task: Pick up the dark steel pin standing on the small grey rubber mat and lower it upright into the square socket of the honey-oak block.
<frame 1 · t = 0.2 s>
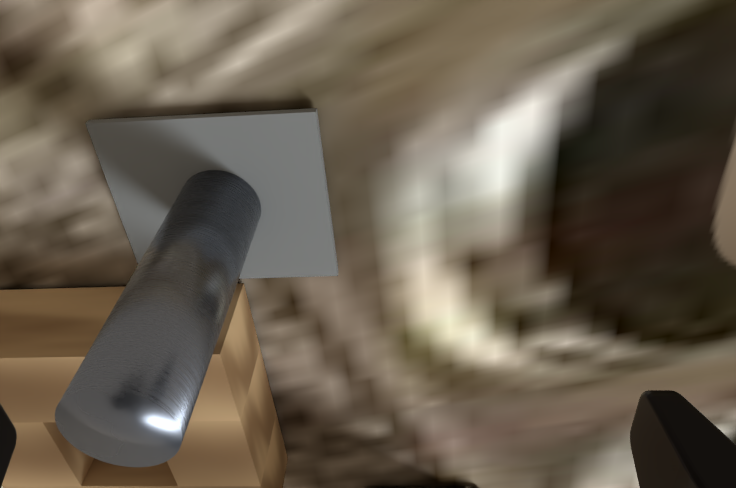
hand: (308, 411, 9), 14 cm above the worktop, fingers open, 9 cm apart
mat: (222, 201, 23), on the worktop
socket block: (145, 383, 29), on the worktop
pin: (221, 205, 23), resting on mat
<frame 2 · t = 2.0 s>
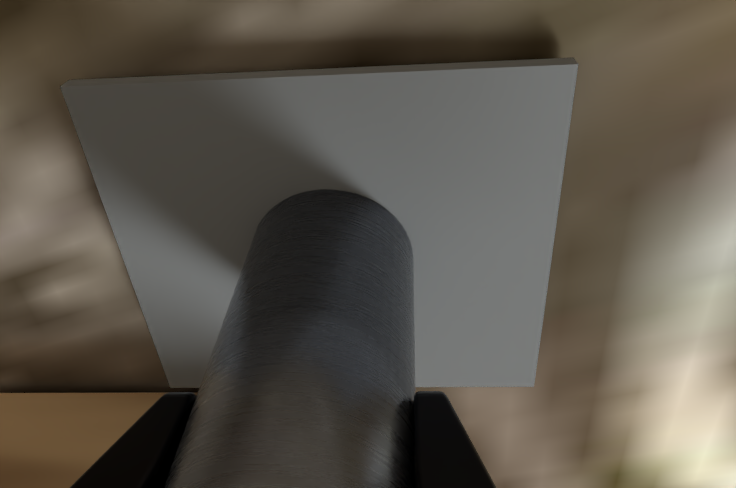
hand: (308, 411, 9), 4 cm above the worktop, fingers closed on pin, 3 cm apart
mat: (334, 249, 12), on the worktop
pin: (332, 259, 11), resting on mat, touching gripper
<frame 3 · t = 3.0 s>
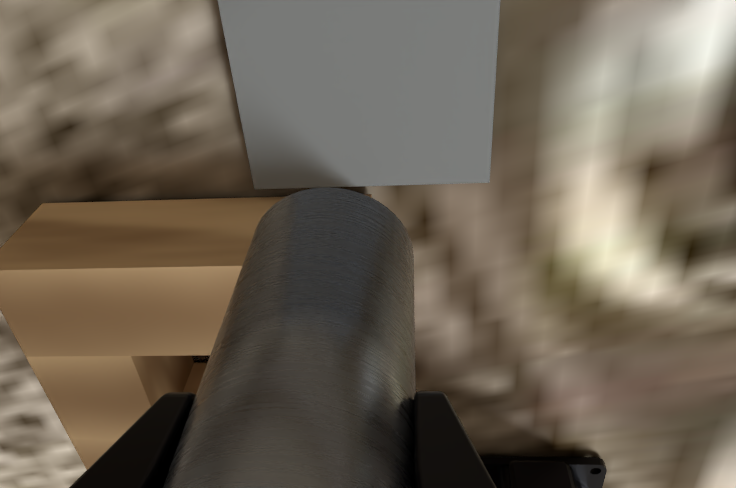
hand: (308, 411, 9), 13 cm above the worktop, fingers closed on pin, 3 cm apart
mat: (363, 83, 19), on the worktop
socket block: (234, 324, 25), on the worktop
pin: (332, 257, 11), point 9 cm above the worktop, touching gripper
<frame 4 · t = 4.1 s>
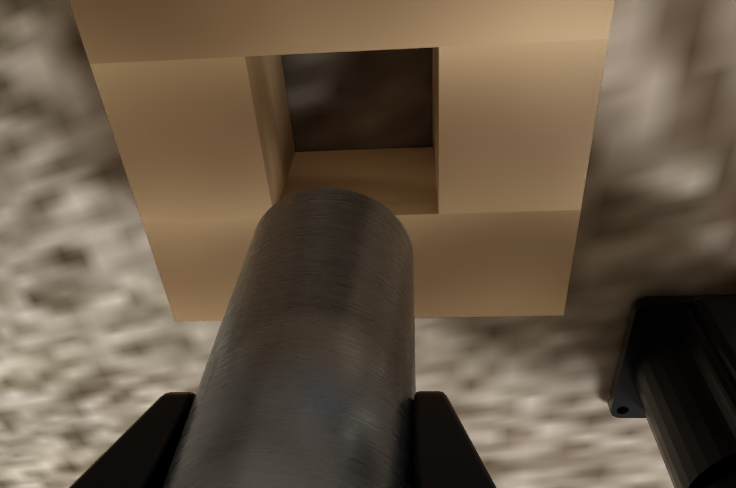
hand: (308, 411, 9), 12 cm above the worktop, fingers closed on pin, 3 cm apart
socket block: (358, 82, 19), on the worktop
pin: (332, 257, 11), point 9 cm above the worktop, touching gripper
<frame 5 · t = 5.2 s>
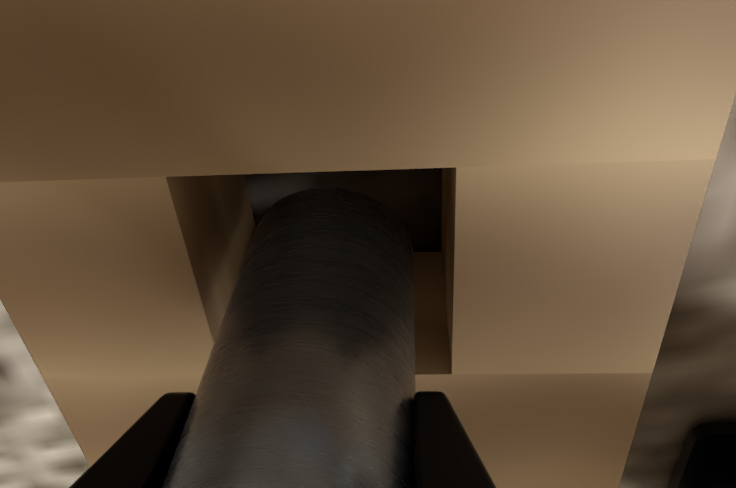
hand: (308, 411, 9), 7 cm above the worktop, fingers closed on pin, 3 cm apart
socket block: (342, 174, 14), on the worktop
pin: (332, 257, 11), point 3 cm above the worktop, touching gripper
when the fingers open (5 cm above the worktop, at t = 6.2 s): pin drops 2 cm, resting in socket block.
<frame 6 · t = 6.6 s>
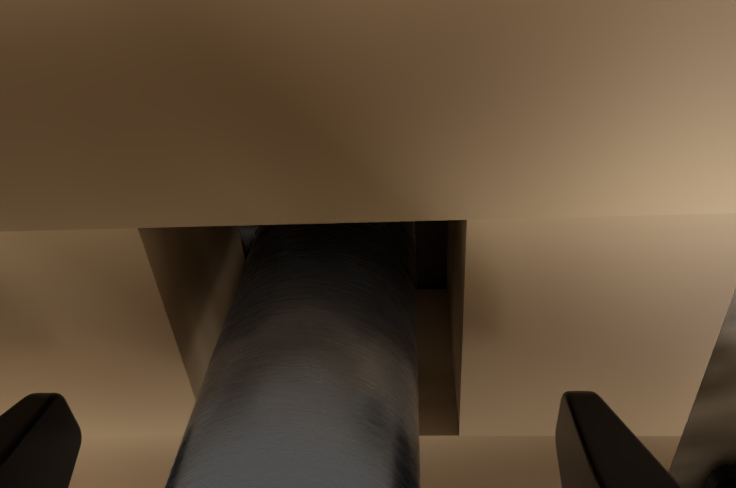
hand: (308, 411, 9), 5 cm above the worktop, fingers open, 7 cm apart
socket block: (339, 208, 13), on the worktop
pin: (342, 206, 13), resting in socket block
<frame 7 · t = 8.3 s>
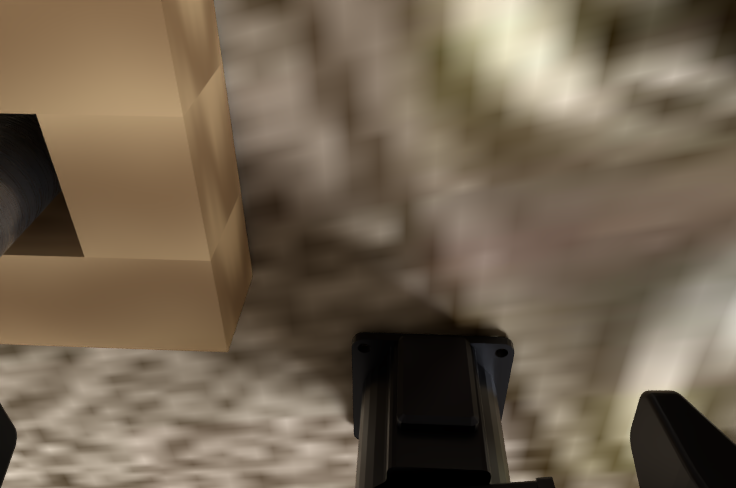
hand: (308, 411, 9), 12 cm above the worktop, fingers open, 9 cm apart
socket block: (50, 127, 20), on the worktop
pin: (52, 126, 20), resting in socket block
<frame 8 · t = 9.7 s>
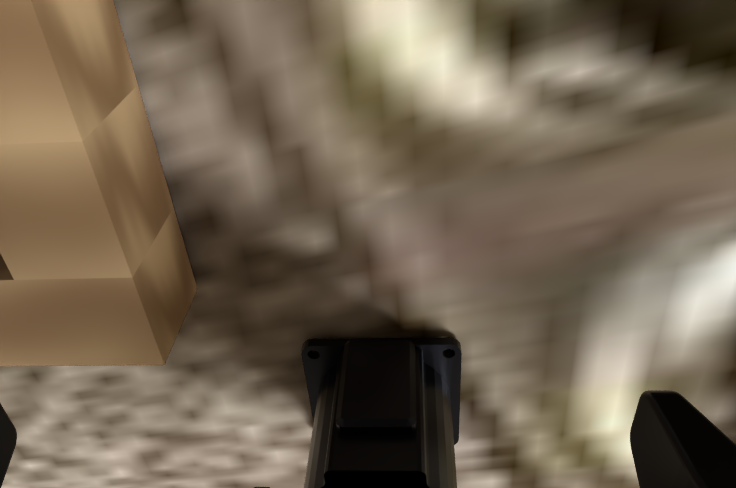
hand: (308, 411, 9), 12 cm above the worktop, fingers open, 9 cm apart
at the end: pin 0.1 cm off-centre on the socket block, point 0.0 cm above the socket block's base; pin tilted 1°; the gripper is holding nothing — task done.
